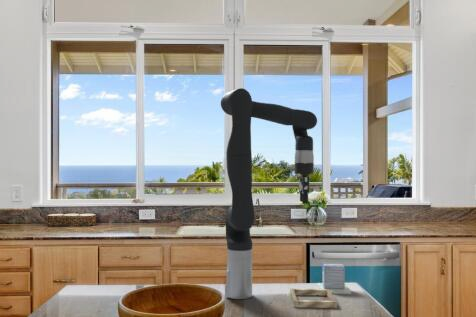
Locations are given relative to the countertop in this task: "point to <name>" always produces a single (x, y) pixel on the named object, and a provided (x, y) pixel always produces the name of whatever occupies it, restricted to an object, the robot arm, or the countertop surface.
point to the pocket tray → (311, 303)
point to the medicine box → (333, 276)
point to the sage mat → (336, 291)
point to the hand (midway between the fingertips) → (303, 202)
